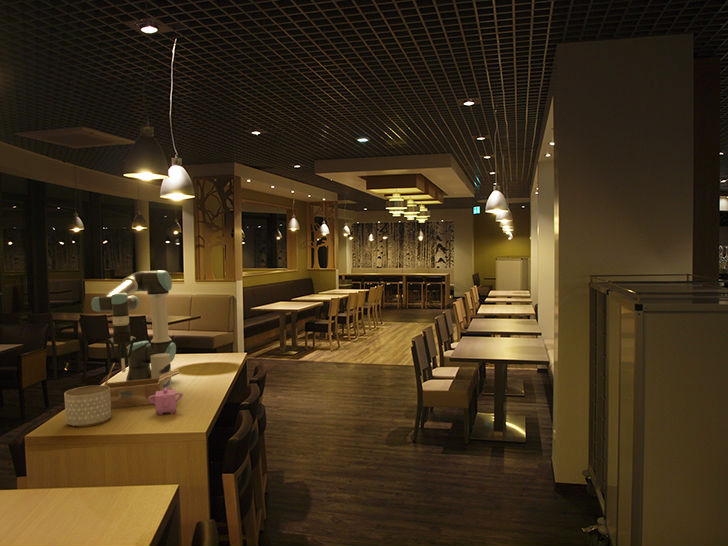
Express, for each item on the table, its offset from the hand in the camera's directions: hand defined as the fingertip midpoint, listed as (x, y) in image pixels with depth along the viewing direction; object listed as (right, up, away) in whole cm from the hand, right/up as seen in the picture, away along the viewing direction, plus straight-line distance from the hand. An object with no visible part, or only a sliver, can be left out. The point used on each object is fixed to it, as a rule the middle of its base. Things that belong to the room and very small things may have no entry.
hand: (123, 371), depth 289 cm
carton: (+4, -16, +2) cm, 17 cm away
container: (+11, -15, +24) cm, 30 cm away
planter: (-4, -18, -28) cm, 34 cm away
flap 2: (+16, -5, +5) cm, 17 cm away
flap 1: (-8, -6, -2) cm, 10 cm away
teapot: (+27, -17, -17) cm, 36 cm away
